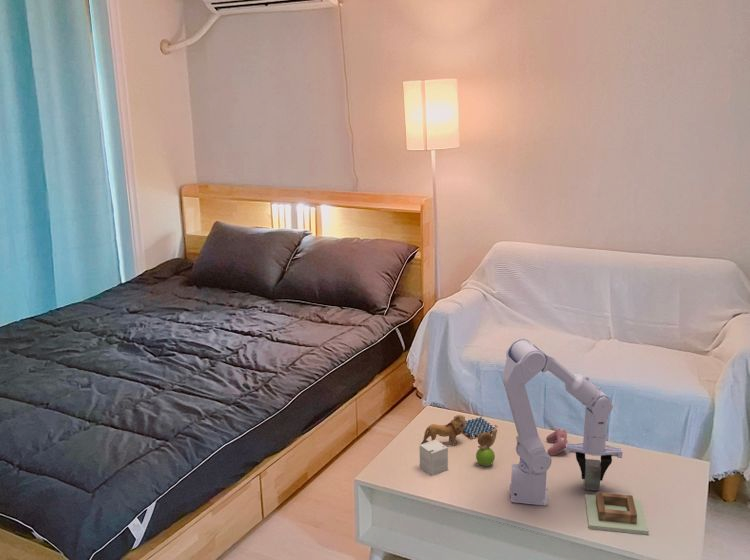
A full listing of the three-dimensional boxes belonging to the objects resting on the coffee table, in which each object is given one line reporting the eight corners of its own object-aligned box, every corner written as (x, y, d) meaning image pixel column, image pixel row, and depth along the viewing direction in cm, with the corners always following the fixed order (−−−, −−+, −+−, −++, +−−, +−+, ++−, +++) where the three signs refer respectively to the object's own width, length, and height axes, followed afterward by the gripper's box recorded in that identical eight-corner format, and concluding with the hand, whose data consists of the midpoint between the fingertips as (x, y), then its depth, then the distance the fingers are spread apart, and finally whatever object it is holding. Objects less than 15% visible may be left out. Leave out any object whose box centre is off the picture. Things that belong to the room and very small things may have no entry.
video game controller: (559, 461, 210) (571, 443, 208) (546, 454, 211) (557, 436, 208) (557, 445, 220) (569, 428, 218) (544, 438, 220) (556, 421, 218)
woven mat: (452, 428, 230) (452, 422, 230) (480, 421, 235) (480, 415, 234) (469, 441, 221) (469, 436, 221) (498, 434, 225) (498, 429, 225)
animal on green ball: (501, 466, 206) (502, 429, 202) (481, 471, 203) (482, 433, 200) (491, 457, 211) (492, 421, 207) (472, 462, 208) (473, 425, 205)
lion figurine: (462, 436, 224) (462, 411, 221) (468, 444, 219) (468, 418, 216) (417, 443, 220) (417, 416, 218) (422, 451, 215) (422, 424, 213)
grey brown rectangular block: (584, 489, 192) (585, 466, 190) (583, 481, 195) (584, 458, 194) (599, 490, 191) (601, 467, 189) (598, 482, 194) (599, 460, 193)
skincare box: (435, 461, 209) (435, 438, 208) (448, 469, 205) (448, 447, 203) (419, 467, 206) (418, 444, 204) (431, 476, 201) (431, 453, 199)
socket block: (588, 528, 176) (589, 516, 175) (585, 497, 189) (585, 486, 188) (648, 534, 173) (649, 522, 172) (640, 502, 186) (641, 491, 185)
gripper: (621, 428, 191) (618, 472, 195) (566, 423, 194) (563, 468, 198) (624, 440, 184) (621, 486, 188) (567, 435, 187) (564, 481, 191)
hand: (591, 478), depth 192 cm, fingers closed on grey brown rectangular block, 4 cm apart
